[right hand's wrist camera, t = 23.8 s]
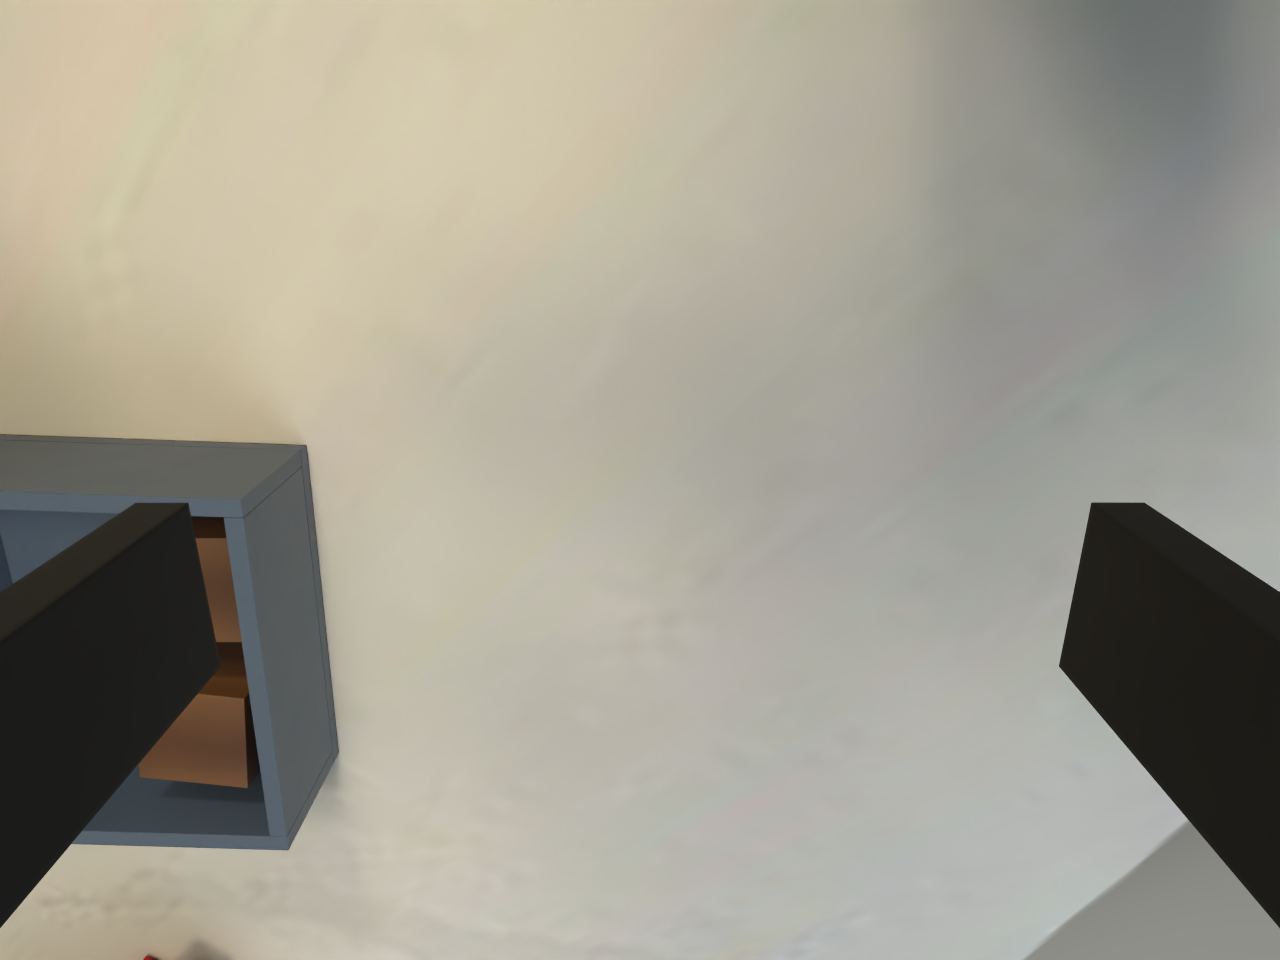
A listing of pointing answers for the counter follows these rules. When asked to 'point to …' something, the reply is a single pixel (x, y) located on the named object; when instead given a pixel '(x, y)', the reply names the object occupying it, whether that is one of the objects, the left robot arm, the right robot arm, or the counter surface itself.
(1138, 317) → the counter surface
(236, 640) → the walnut block
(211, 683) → the walnut block
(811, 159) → the counter surface
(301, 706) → the tray
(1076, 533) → the counter surface
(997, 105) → the counter surface
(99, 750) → the right robot arm
